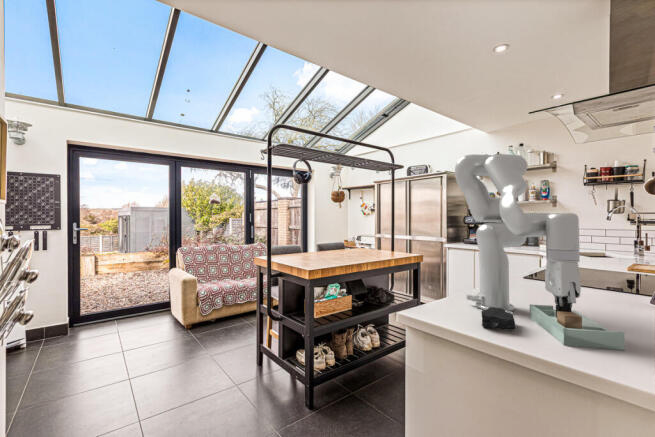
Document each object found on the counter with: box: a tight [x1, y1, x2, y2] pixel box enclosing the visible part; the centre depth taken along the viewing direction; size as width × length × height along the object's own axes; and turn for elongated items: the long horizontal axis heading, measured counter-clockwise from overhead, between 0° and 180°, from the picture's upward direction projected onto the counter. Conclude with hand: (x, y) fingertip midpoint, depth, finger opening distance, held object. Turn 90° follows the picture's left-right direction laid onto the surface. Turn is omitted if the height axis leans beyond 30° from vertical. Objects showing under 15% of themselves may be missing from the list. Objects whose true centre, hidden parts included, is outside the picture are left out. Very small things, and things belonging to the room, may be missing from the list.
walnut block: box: [557, 311, 582, 329], centre depth 81 cm, size 4×4×4 cm
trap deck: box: [529, 304, 626, 351], centre depth 86 cm, size 13×22×4 cm, turn 165°
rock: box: [480, 307, 516, 331], centre depth 91 cm, size 10×9×6 cm
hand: (563, 319), depth 85 cm, fingers closed
